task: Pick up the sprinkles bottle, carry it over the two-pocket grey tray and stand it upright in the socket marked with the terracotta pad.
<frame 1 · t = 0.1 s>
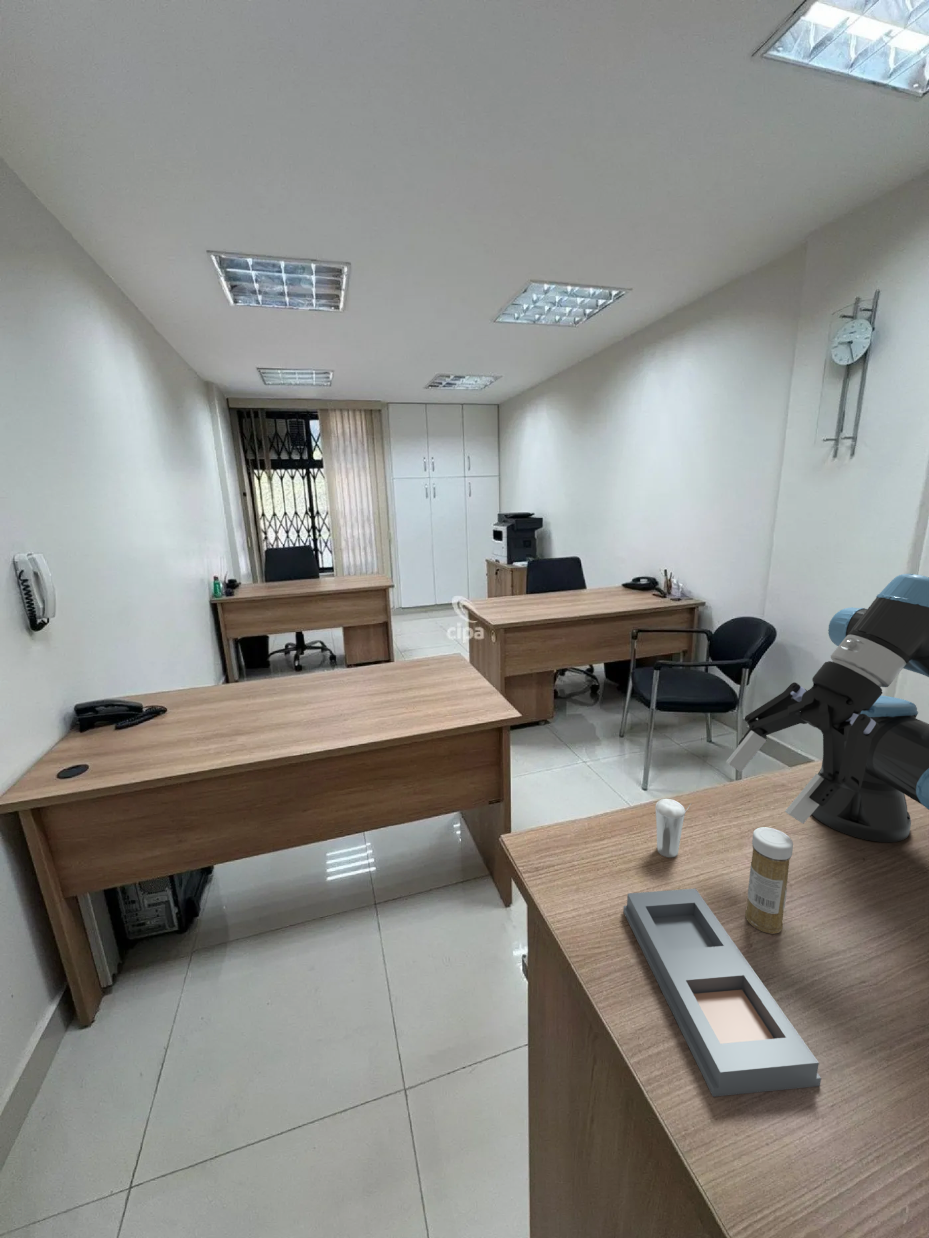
hand: (760, 790, 73), 15 cm above the table, tool tilted 35°, fingers open, 13 cm apart
sprinkles bottle: (762, 922, 68), on the table
two-pocket grey tray: (703, 982, 60), on the table
milkshake: (669, 853, 83), on the table
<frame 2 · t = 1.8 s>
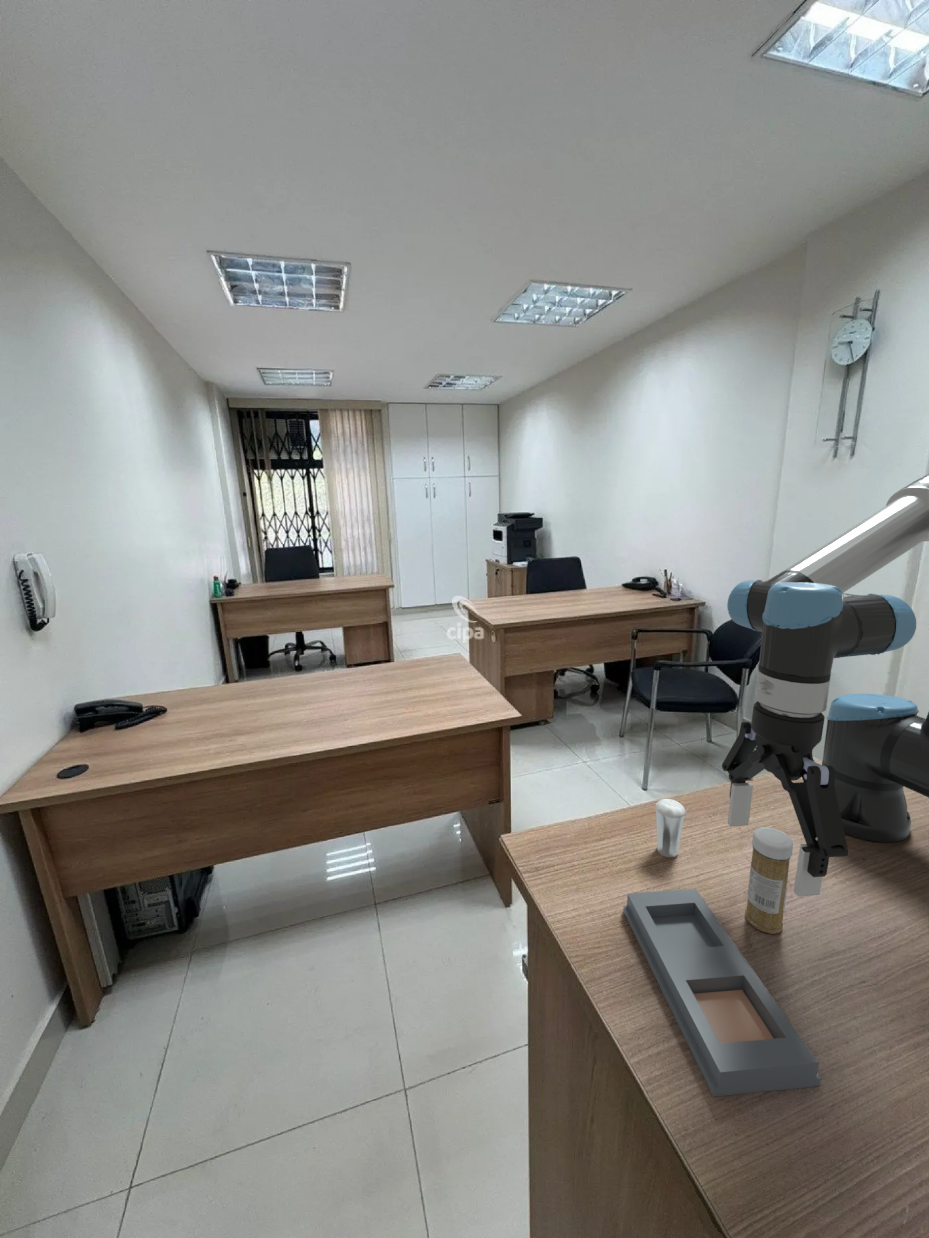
hand: (768, 855, 66), 11 cm above the table, tool pointing down, fingers open, 13 cm apart
nothing on the table moved.
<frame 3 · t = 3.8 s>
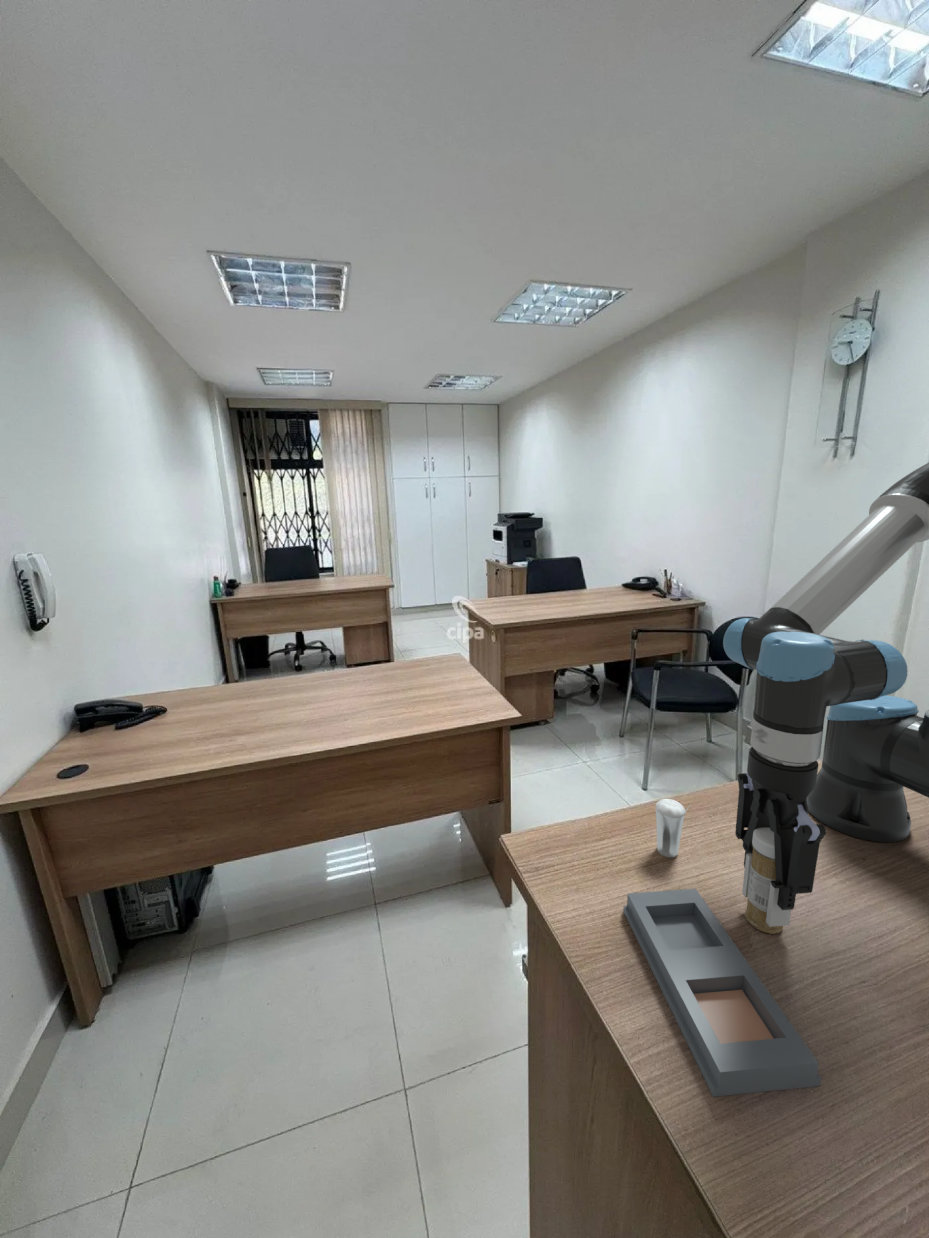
hand: (764, 908, 68), 2 cm above the table, tool pointing down, fingers closed on sprinkles bottle, 4 cm apart
sprinkles bottle: (762, 922, 68), on the table, touching gripper
everything else where it was.
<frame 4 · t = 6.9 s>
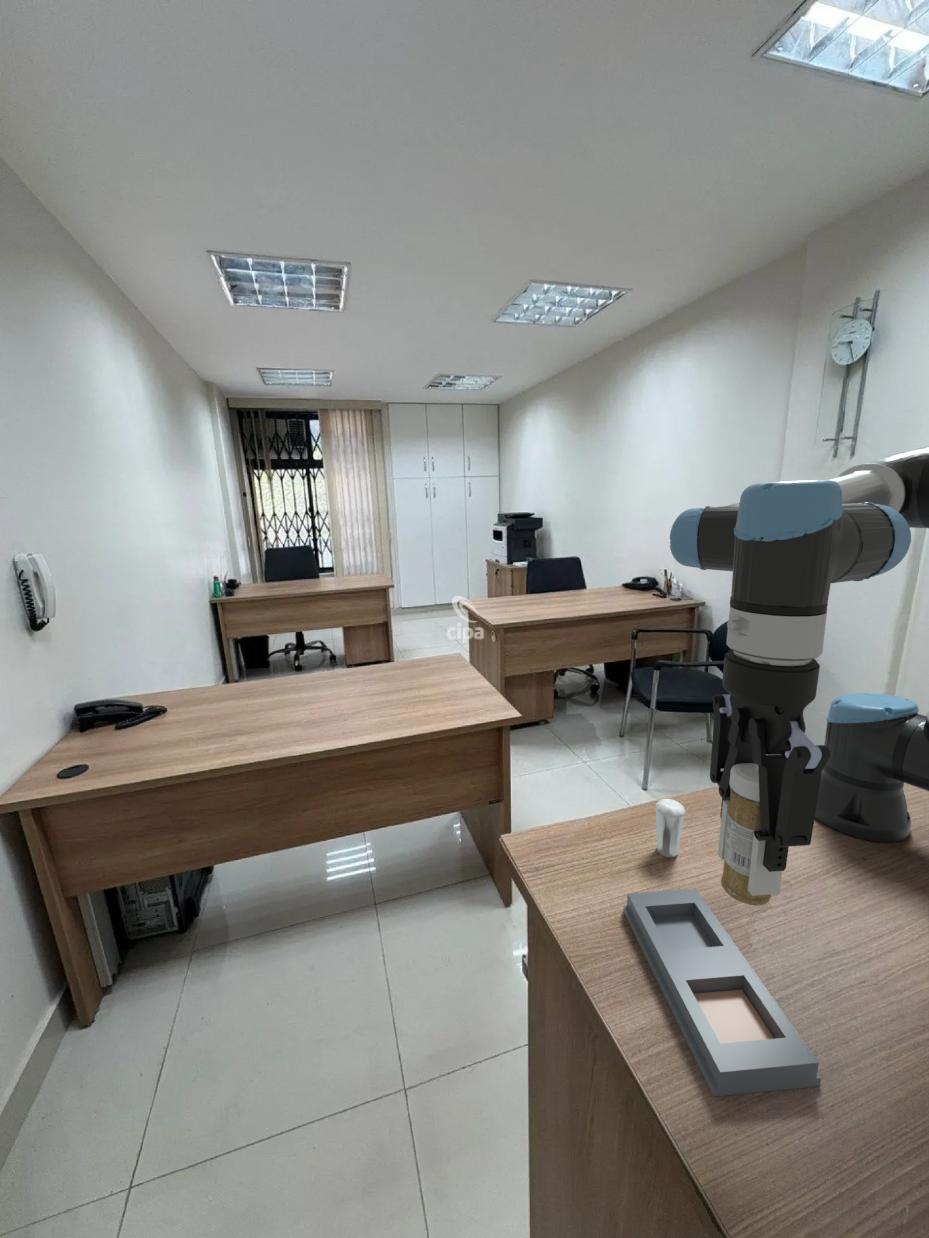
hand: (746, 872, 50), 20 cm above the table, tool pointing down, fingers closed on sprinkles bottle, 4 cm apart
sprinkles bottle: (744, 892, 51), point 17 cm above the table, touching gripper
everything else where it was.
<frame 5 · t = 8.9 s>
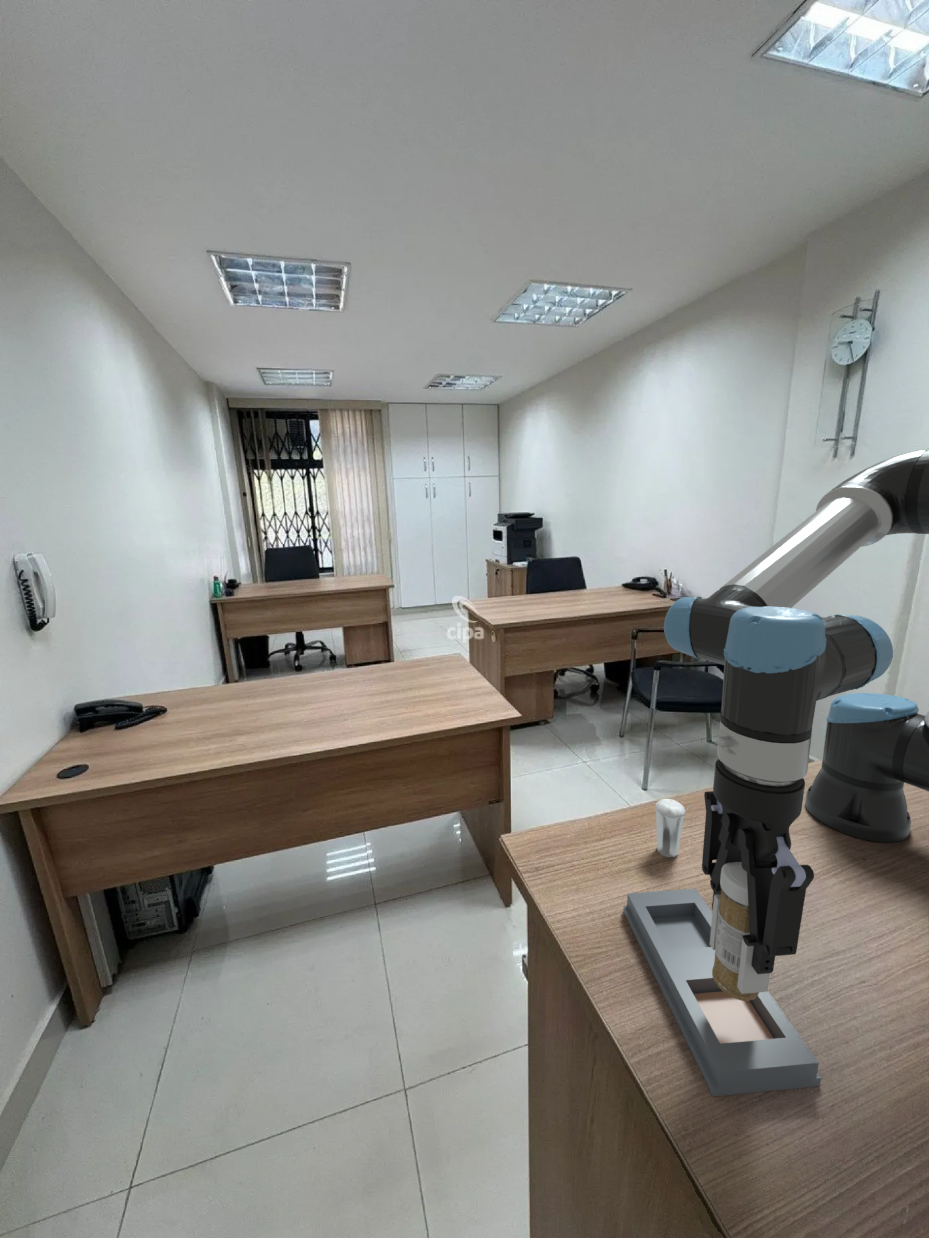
hand: (736, 966, 53), 8 cm above the table, tool pointing down, fingers closed on sprinkles bottle, 4 cm apart
sprinkles bottle: (734, 984, 53), point 6 cm above the table, touching gripper
everything else where it was.
when the fingers open (5 cm above the table, at t = 10.4 s): sprinkles bottle drops 1 cm, resting on two-pocket grey tray.
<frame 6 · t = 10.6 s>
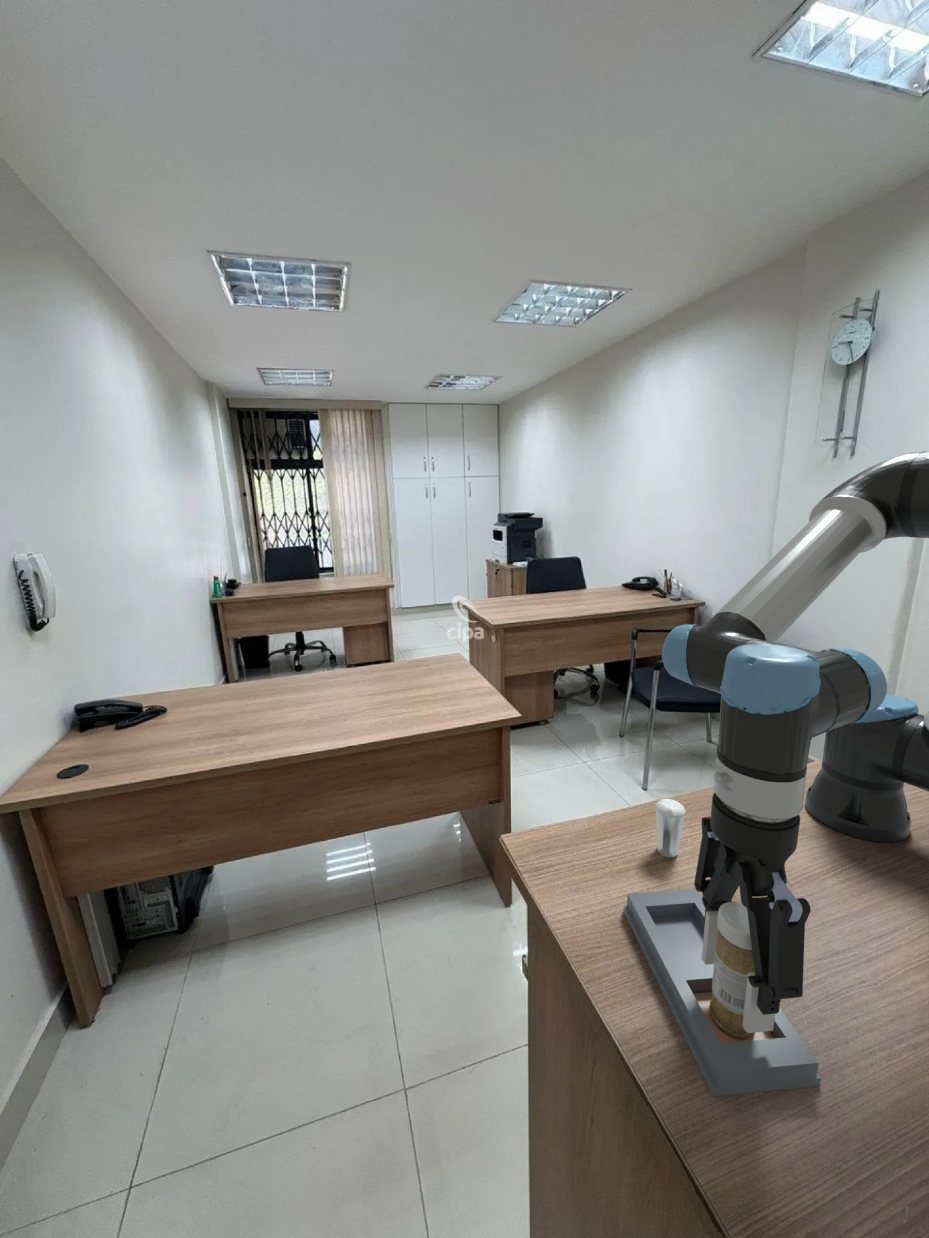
hand: (734, 991, 53), 5 cm above the table, tool pointing down, fingers open, 7 cm apart
sprinkles bottle: (730, 1020, 54), point 1 cm above the table, touching two-pocket grey tray
everything else where it was.
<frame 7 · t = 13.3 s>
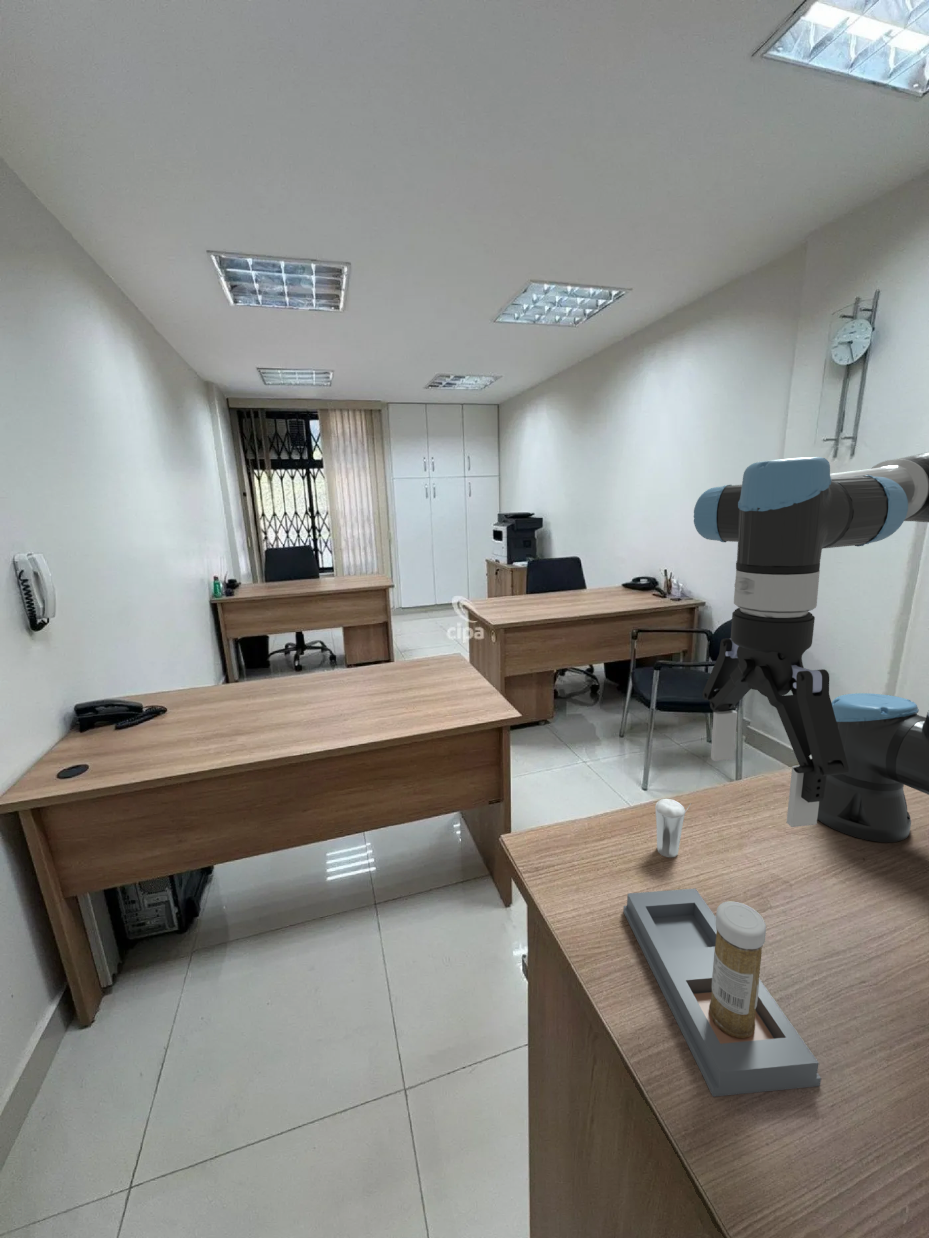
hand: (757, 787, 57), 24 cm above the table, tool pointing down, fingers open, 13 cm apart
nothing on the table moved.
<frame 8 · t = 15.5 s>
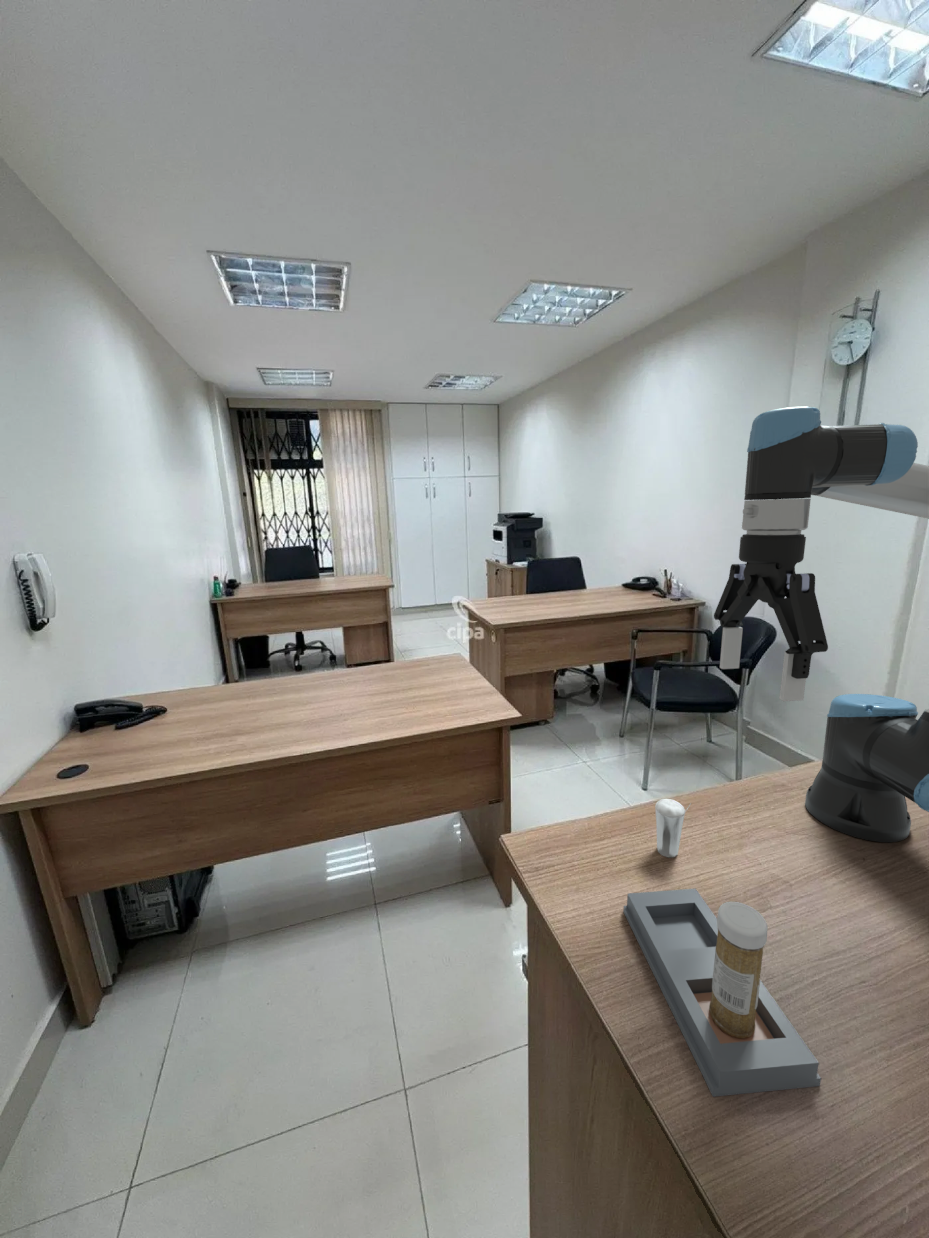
hand: (757, 682, 71), 32 cm above the table, tool pointing down, fingers open, 13 cm apart
nothing on the table moved.
at the end: sprinkles bottle 0.1 cm from the target spot on the two-pocket grey tray, point 1.0 cm above the two-pocket grey tray's base; sprinkles bottle tilted 0°; the gripper is holding nothing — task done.
